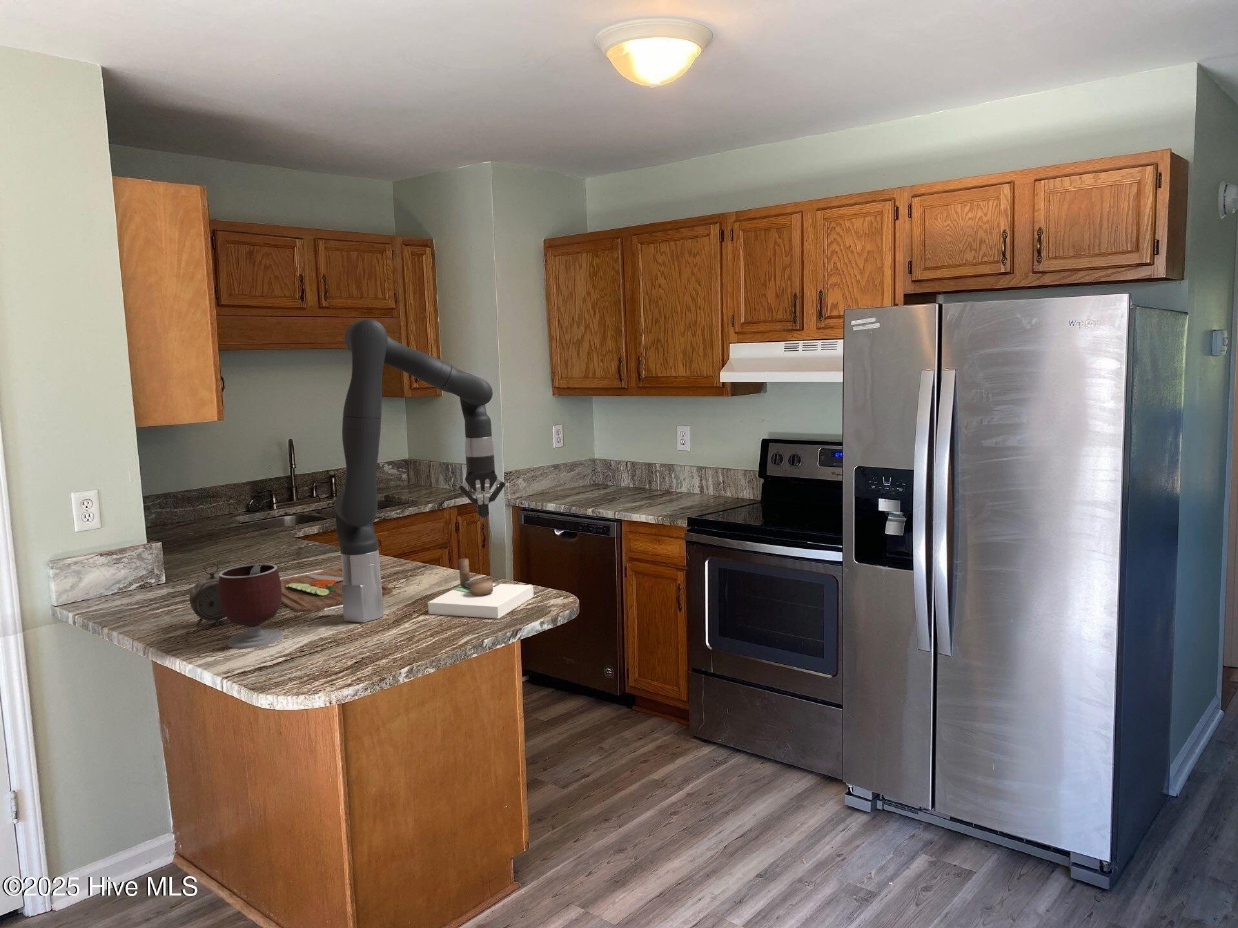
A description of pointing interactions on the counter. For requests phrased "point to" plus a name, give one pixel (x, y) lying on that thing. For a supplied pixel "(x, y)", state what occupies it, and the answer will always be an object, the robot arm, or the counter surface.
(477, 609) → the white square slab
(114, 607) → the counter surface
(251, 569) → the mate gourd
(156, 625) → the counter surface
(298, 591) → the chopping board
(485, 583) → the crank handle
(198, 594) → the alarm clock
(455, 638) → the counter surface
